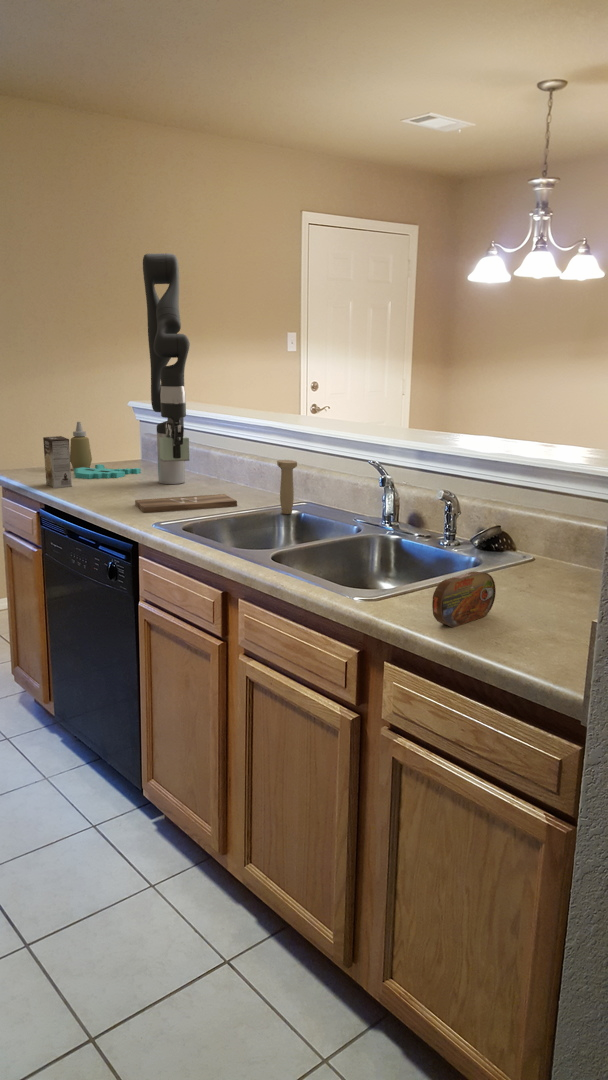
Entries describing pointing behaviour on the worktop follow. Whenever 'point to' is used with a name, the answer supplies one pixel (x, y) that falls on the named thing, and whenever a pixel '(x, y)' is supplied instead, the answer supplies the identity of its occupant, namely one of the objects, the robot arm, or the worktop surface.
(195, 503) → the walnut board
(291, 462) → the handle
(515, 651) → the worktop surface
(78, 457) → the squeeze bottle
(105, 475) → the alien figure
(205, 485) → the worktop surface
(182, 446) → the block
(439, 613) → the tin
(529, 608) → the worktop surface
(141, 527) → the worktop surface
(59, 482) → the coffee box
